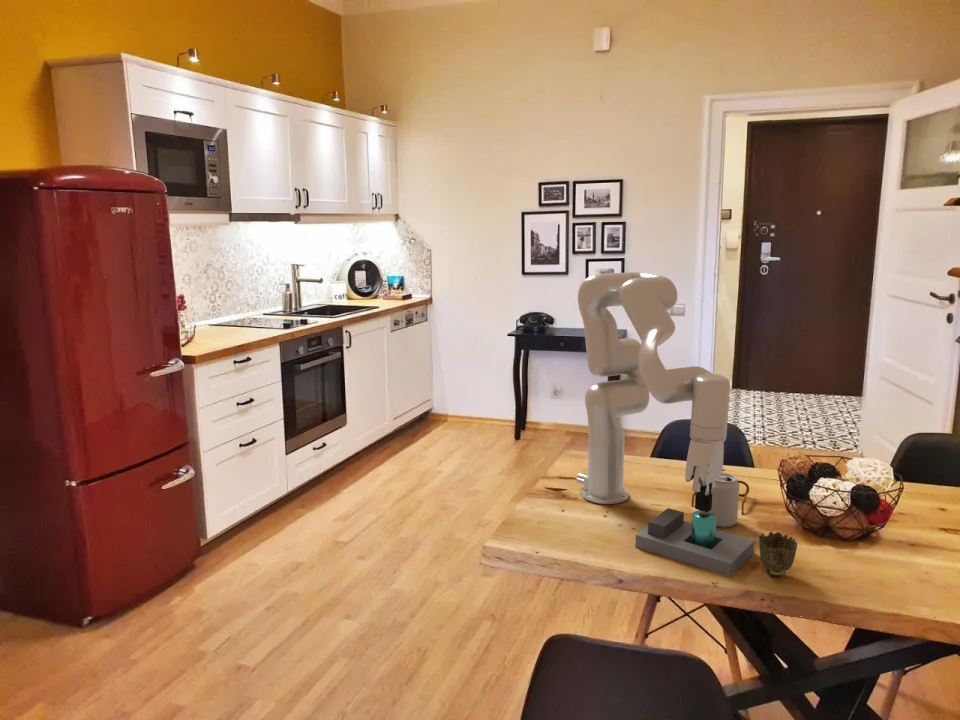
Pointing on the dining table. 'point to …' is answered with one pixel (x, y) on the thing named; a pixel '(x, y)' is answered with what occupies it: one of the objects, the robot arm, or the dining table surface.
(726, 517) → the can
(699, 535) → the teal translucent cylinder
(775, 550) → the cup
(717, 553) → the plate
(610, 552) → the dining table surface
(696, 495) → the robot arm
